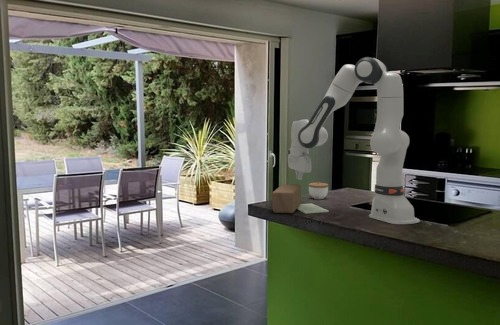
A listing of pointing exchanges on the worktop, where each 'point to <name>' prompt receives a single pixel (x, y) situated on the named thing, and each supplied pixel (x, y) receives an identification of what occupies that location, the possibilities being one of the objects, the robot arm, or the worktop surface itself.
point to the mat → (310, 208)
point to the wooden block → (286, 198)
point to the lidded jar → (318, 190)
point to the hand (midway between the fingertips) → (299, 179)
